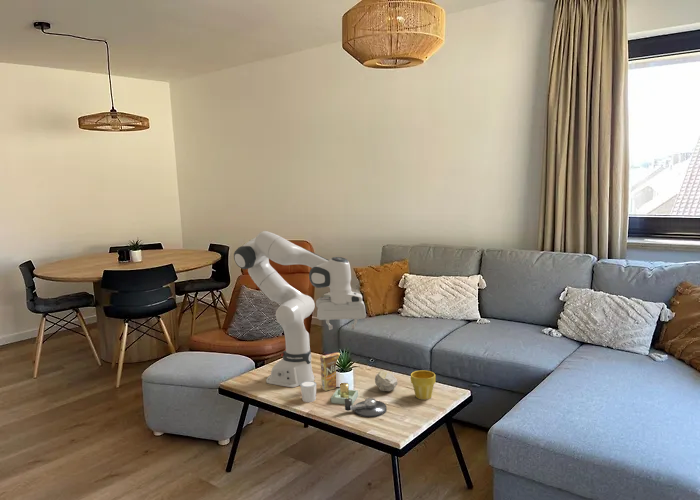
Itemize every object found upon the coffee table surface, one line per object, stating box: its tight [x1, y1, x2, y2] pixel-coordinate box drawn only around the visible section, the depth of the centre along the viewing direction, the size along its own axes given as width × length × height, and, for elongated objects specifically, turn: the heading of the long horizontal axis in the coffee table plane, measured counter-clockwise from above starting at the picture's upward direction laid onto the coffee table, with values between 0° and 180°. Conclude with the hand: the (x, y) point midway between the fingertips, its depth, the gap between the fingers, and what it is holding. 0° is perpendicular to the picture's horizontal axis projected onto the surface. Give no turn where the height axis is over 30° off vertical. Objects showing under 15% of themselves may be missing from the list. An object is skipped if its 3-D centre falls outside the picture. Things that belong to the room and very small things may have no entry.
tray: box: [330, 388, 359, 405], centre depth 222 cm, size 9×9×2 cm
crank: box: [344, 397, 377, 412], centre depth 210 cm, size 12×4×4 cm, turn 100°
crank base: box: [353, 400, 388, 418], centre depth 211 cm, size 13×13×1 cm
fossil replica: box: [374, 369, 398, 392], centre depth 231 cm, size 12×8×10 cm
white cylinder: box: [299, 381, 317, 403], centre depth 223 cm, size 7×7×7 cm
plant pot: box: [410, 369, 437, 401], centre depth 221 cm, size 10×10×10 cm
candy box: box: [320, 351, 341, 392], centre depth 234 cm, size 9×4×15 cm, turn 120°
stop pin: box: [339, 382, 350, 398], centre depth 221 cm, size 4×4×6 cm
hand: (342, 329), depth 218 cm, fingers open, 8 cm apart
